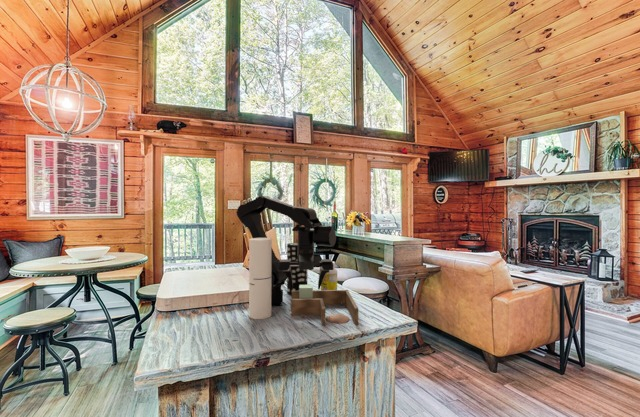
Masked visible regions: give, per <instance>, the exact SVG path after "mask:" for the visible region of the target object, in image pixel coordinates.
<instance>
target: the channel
mask: <svg viewBox="0 0 640 417" xmlns="http://www.w3.org/2000/svg"><path fill="white" fill-rule="evenodd" d="M325 305H327V306H330V305H331V306H332V305H334V306H335V305H344V306H345V307H346V309H347V311H348V313H349V315H350V317H351V319H352V321H353V324H354V325H355V326H358V325H359V307H358V305H357V304H356V301H355V300H354V298H353V296H352V294H351V293H350V291H349V290H348V289H337V290H321V289H319V290H316V289H315V290H313V299H299V291H292V295H291V299H290V316H309V315H310V316H314V315H315V316H317V315H319V317H320V322H321V326H326V319H327V321H328V322H329V323H333V324H346V323H348V322H349V321H350V317H349V316H348V315H345V314H339V313H337V314H334V313H333V314H330V315H328V316H327V317H326V306H325Z"/></svg>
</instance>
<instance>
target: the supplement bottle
mask: <svg viewBox="0 0 640 417" xmlns="http://www.w3.org/2000/svg"><path fill="white" fill-rule="evenodd" d="M332 262H333V270H329V272H327V273H326V274H325V276H324V278H323V281H322V284H321V287H320V290H338V269H337V268H336V267H335V266H336V261H332Z"/></svg>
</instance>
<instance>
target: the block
mask: <svg viewBox="0 0 640 417" xmlns="http://www.w3.org/2000/svg"><path fill="white" fill-rule="evenodd" d="M299 299H313V284H307V285H299Z"/></svg>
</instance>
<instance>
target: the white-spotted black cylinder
mask: <svg viewBox="0 0 640 417" xmlns="http://www.w3.org/2000/svg"><path fill="white" fill-rule="evenodd" d="M286 248H287V250H286V251H287V252H286V255H287V257H286V259H290V262H297V256H298V242H290V243H287V244H286ZM291 273H292V281H293V290H292V289H291V286H290V283H289V280H288V278H287V279H286V293H287V294H288V295H291V296H292V291H299V285H308V270H299V267H291Z"/></svg>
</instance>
